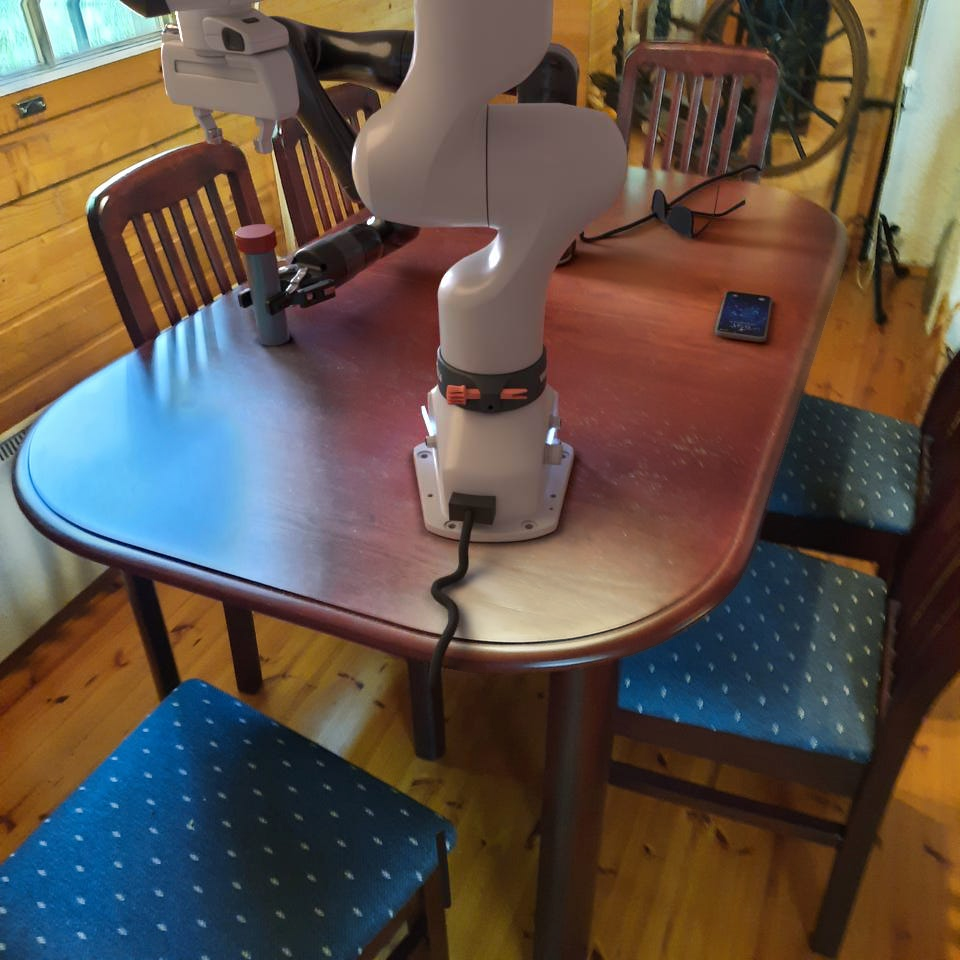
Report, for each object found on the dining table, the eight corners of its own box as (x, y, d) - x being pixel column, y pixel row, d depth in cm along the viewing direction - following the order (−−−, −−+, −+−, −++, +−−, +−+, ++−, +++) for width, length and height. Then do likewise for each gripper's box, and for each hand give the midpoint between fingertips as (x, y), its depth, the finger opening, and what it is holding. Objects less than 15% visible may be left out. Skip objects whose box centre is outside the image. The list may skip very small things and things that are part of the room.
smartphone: (773, 295, 132) (766, 339, 121) (772, 301, 133) (765, 345, 121) (725, 289, 134) (713, 331, 123) (724, 295, 135) (712, 337, 123)
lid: (266, 255, 115) (263, 239, 114) (230, 252, 116) (227, 236, 115) (284, 241, 119) (281, 225, 118) (248, 238, 121) (246, 222, 119)
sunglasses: (756, 231, 156) (761, 204, 153) (684, 241, 153) (688, 214, 150) (711, 202, 169) (714, 176, 166) (644, 211, 166) (646, 185, 163)
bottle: (281, 347, 124) (262, 241, 115) (254, 344, 125) (232, 238, 116) (294, 333, 128) (277, 229, 118) (267, 330, 129) (248, 227, 119)
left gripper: (138, 25, 104) (165, 143, 113) (259, 38, 95) (279, 165, 103) (178, 18, 109) (202, 131, 117) (298, 30, 99) (314, 152, 108)
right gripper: (290, 231, 133) (211, 270, 121) (364, 247, 127) (288, 290, 115) (297, 277, 138) (222, 319, 126) (369, 294, 132) (297, 340, 120)
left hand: (239, 148), depth 110 cm, fingers open, 7 cm apart
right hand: (254, 305), depth 121 cm, fingers closed on bottle, 4 cm apart
